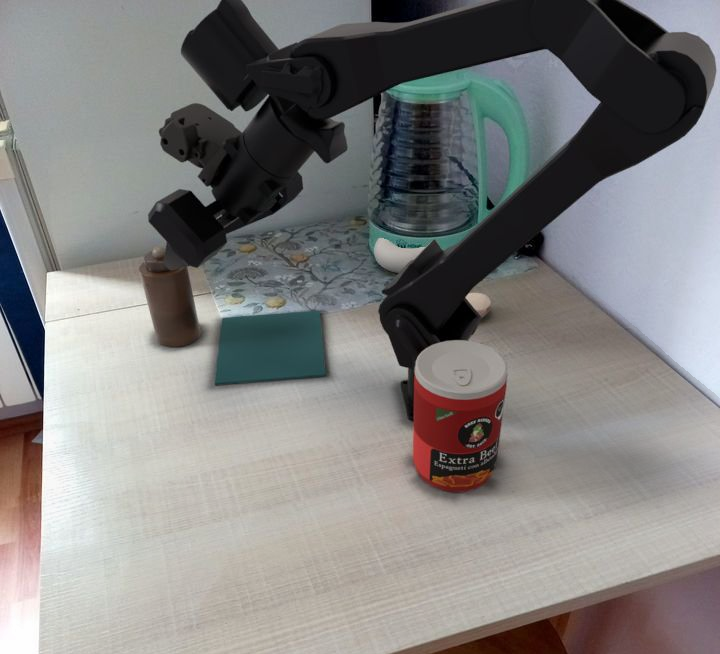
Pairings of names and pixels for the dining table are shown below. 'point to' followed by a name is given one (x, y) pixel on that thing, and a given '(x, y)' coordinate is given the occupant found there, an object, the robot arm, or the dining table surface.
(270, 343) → the napkin
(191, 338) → the pepper mill
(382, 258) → the donut
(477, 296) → the cream clam shell
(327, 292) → the dining table surface
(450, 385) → the canned food
